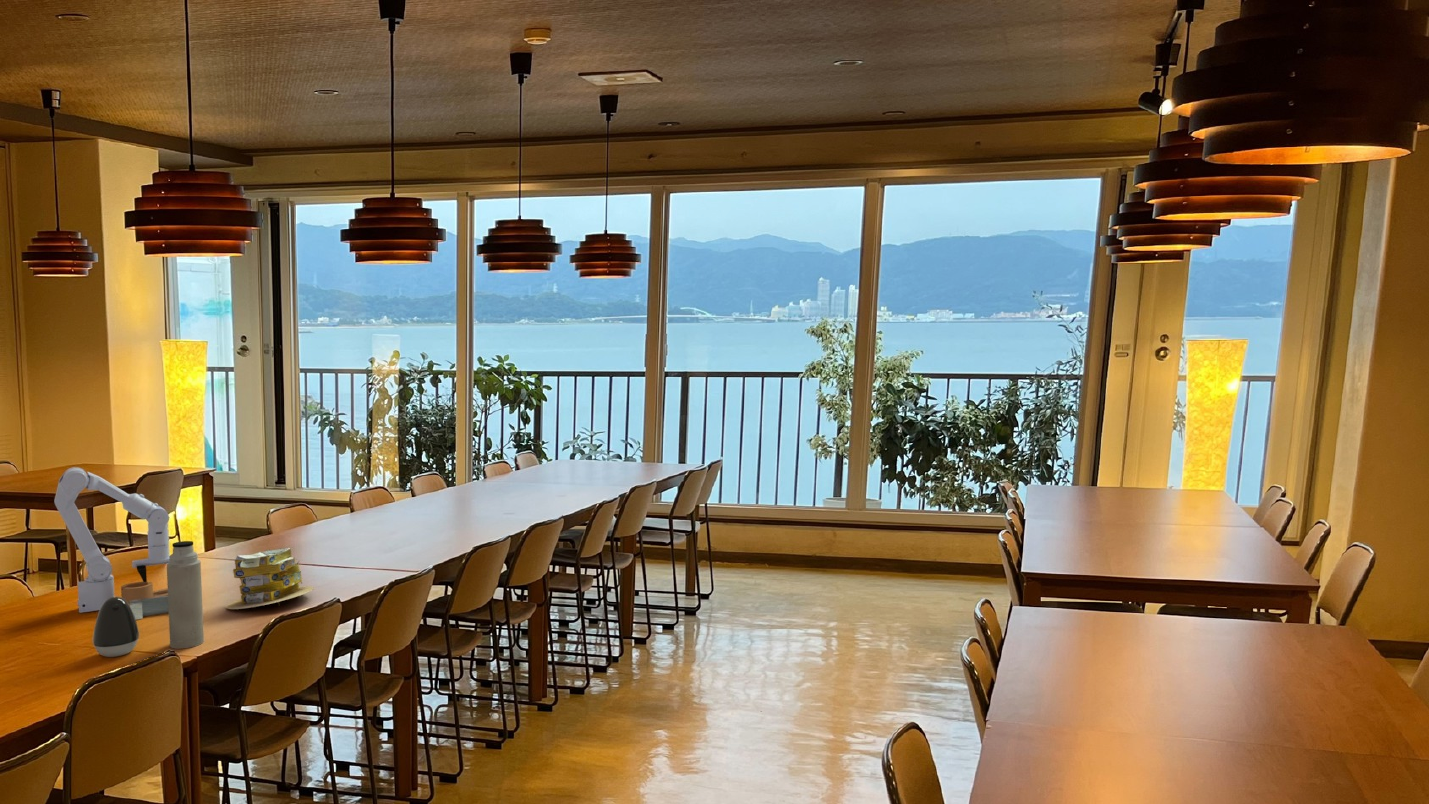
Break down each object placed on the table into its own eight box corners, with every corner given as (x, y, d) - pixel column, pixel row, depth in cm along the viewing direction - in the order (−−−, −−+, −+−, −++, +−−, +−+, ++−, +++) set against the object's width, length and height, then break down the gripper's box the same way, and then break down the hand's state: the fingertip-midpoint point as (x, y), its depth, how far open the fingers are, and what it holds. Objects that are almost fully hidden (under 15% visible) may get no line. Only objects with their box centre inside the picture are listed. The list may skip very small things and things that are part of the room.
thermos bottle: (180, 639, 254) (175, 539, 252) (209, 638, 254) (205, 538, 253) (163, 648, 246) (159, 545, 244) (194, 648, 246) (189, 545, 245)
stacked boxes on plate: (207, 610, 282) (205, 556, 281) (269, 589, 305) (267, 540, 304) (272, 617, 274) (270, 562, 273) (330, 595, 298) (329, 544, 297)
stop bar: (130, 620, 272) (129, 603, 271) (130, 616, 275) (129, 600, 275) (196, 611, 281) (195, 594, 281) (195, 607, 285) (194, 591, 284)
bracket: (131, 612, 281) (130, 589, 280) (116, 608, 285) (115, 586, 285) (189, 598, 296) (189, 576, 296) (175, 594, 301) (174, 573, 300)
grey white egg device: (94, 663, 235) (91, 604, 234) (92, 652, 244) (90, 595, 243) (141, 655, 241) (138, 598, 240) (138, 644, 250) (135, 589, 249)
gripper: (183, 539, 301) (185, 580, 302) (131, 545, 293) (133, 587, 294) (185, 543, 295) (187, 585, 296) (131, 549, 287) (133, 592, 288)
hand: (160, 586), depth 295 cm, fingers open, 7 cm apart
